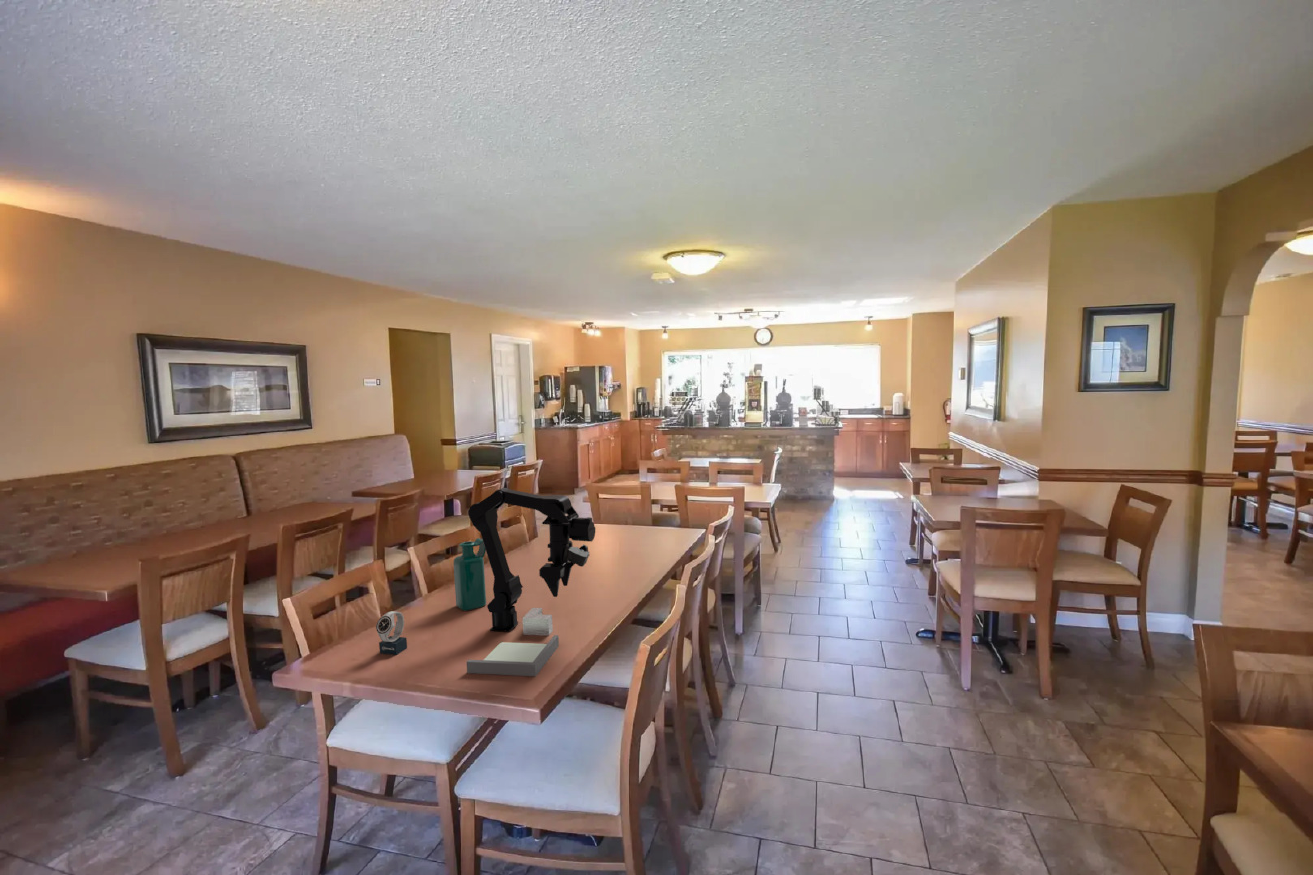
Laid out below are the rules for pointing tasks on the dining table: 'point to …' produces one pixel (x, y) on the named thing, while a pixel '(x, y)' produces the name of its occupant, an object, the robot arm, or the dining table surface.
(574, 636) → the dining table surface
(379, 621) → the watch
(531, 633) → the bracket
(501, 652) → the mat
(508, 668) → the corner walls
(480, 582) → the green bottle
